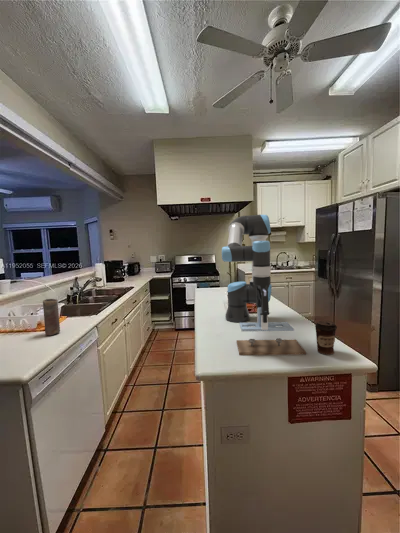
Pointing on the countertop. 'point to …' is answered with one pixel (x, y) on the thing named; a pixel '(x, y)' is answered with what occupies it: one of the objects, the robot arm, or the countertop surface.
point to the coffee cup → (325, 336)
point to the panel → (271, 325)
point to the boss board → (269, 347)
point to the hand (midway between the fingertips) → (262, 325)
